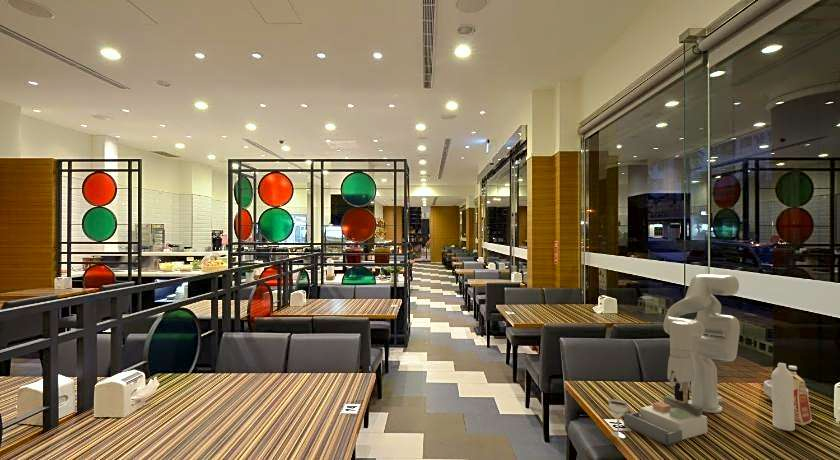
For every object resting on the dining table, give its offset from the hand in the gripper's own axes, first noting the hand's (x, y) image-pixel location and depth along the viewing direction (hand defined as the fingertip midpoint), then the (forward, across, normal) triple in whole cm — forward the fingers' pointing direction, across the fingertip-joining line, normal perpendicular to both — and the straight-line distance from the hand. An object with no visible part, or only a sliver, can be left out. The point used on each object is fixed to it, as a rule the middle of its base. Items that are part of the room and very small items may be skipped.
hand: (682, 399), depth 164 cm
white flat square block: (+10, +6, 0) cm, 12 cm away
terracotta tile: (+4, +7, -4) cm, 9 cm away
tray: (+10, +18, 0) cm, 20 cm away
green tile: (+4, +7, +4) cm, 9 cm away
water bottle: (+11, -34, +18) cm, 40 cm away
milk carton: (+11, -48, +14) cm, 51 cm away
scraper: (+4, 0, 0) cm, 4 cm away
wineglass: (+10, +30, -4) cm, 32 cm away
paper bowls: (+11, -66, +3) cm, 67 cm away
